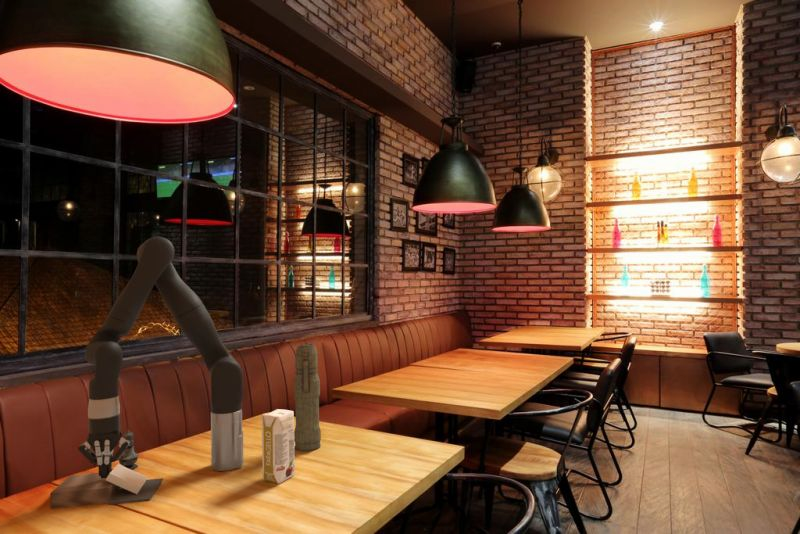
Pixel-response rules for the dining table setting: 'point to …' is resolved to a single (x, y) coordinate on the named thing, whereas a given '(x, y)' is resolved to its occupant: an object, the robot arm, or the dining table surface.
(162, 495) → the dining table surface
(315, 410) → the thermos
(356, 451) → the dining table surface
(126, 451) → the salt shaker
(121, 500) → the mat
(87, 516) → the dining table surface
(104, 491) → the block
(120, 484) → the tile
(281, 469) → the juice carton
